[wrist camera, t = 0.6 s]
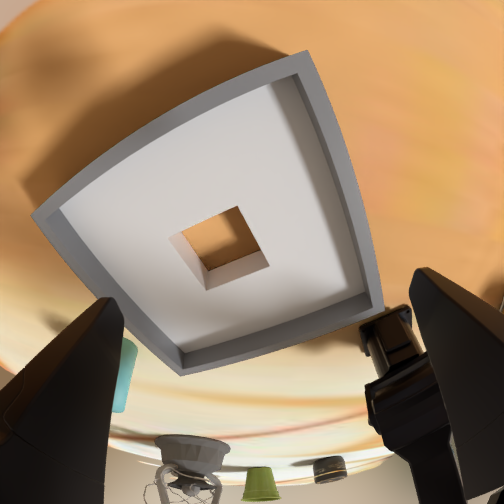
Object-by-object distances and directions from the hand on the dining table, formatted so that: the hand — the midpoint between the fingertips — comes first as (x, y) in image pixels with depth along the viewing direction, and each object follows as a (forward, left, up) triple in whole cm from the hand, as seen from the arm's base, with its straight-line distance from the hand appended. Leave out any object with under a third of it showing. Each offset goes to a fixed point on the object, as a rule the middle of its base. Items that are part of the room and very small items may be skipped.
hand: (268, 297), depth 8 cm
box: (-4, +5, -14) cm, 15 cm away
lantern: (-49, +39, -14) cm, 64 cm away
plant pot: (-80, +35, -14) cm, 89 cm away
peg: (-13, +23, -14) cm, 29 cm away
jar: (-87, +15, -14) cm, 90 cm away
